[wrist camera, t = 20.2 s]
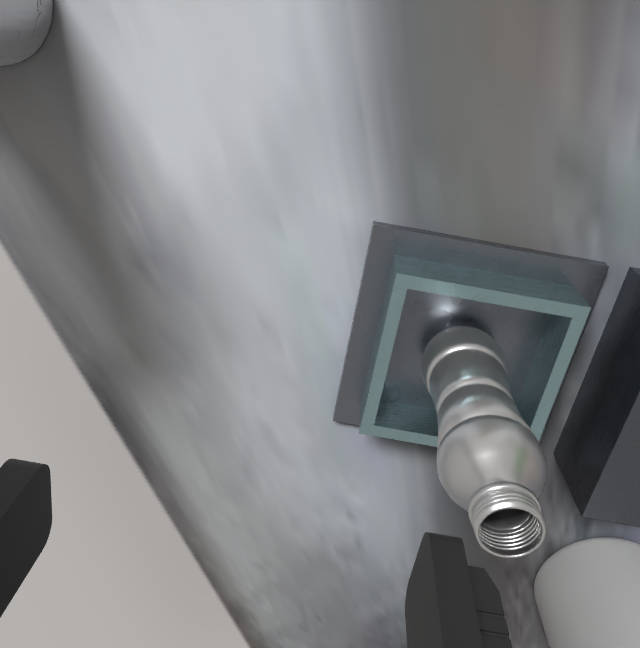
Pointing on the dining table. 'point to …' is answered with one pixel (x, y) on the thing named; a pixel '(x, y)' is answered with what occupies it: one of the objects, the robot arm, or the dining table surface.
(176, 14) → the dining table surface
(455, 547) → the robot arm
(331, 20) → the dining table surface
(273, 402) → the dining table surface
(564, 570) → the cylinder vase
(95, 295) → the dining table surface
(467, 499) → the plastic bottle
